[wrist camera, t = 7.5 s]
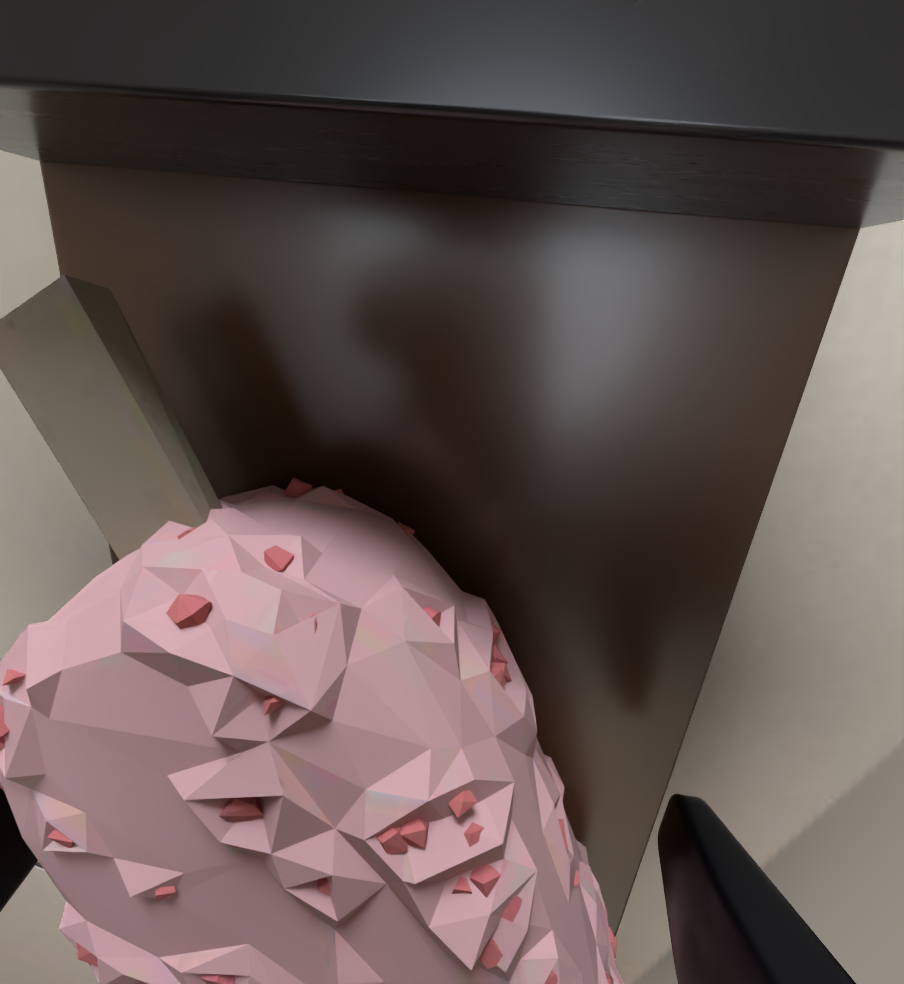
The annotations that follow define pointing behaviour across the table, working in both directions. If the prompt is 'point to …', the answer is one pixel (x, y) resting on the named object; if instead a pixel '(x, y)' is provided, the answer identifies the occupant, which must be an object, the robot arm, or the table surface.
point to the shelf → (488, 292)
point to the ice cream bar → (270, 721)
